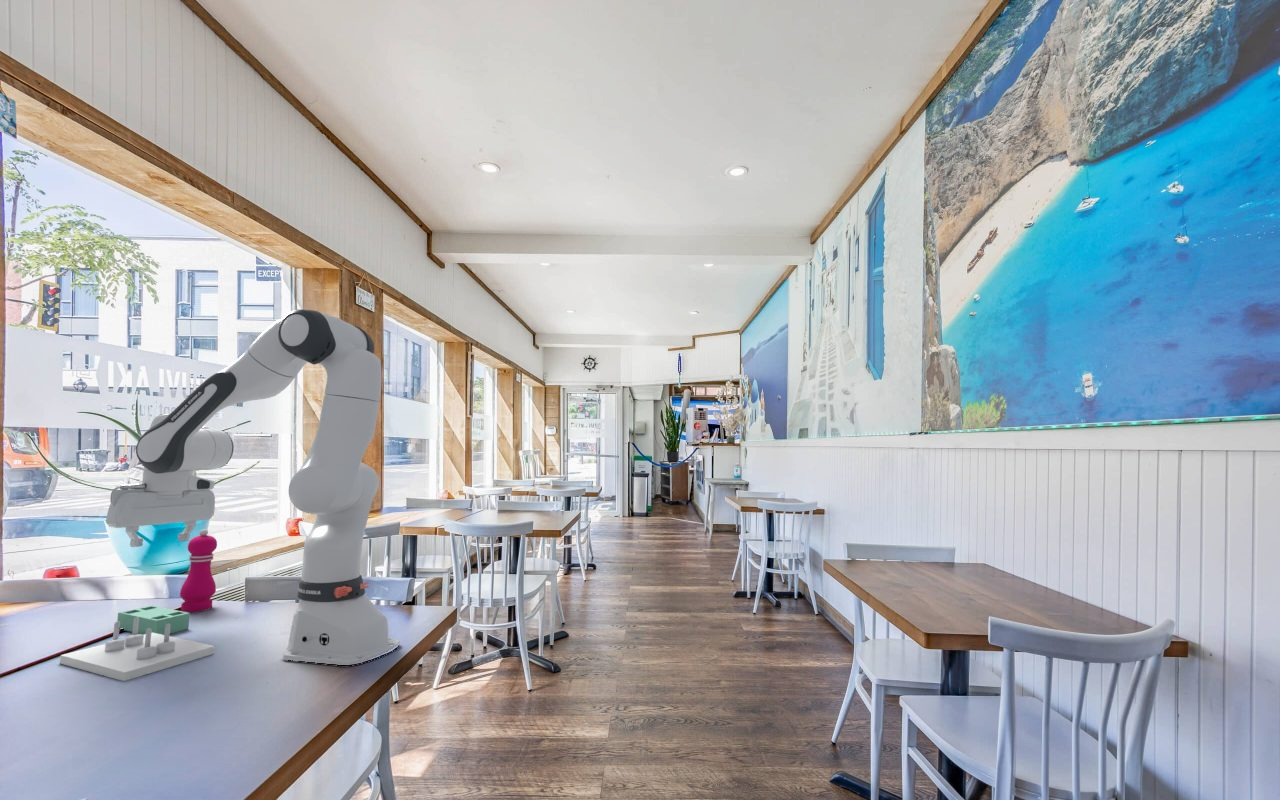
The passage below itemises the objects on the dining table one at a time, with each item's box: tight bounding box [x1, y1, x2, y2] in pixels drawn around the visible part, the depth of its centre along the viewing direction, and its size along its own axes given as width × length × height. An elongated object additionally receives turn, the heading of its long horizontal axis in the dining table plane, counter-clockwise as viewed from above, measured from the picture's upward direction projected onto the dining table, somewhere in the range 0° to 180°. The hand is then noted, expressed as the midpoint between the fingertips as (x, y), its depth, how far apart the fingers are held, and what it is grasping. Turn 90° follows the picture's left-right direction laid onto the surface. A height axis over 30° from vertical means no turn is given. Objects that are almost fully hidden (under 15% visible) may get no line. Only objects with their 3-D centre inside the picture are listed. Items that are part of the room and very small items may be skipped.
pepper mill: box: [179, 528, 218, 613], centre depth 145 cm, size 7×7×20 cm
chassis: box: [59, 617, 215, 682], centre depth 111 cm, size 20×15×7 cm
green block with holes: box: [116, 605, 191, 635], centre depth 128 cm, size 14×6×4 cm, turn 69°
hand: (160, 543), depth 130 cm, fingers open, 8 cm apart
